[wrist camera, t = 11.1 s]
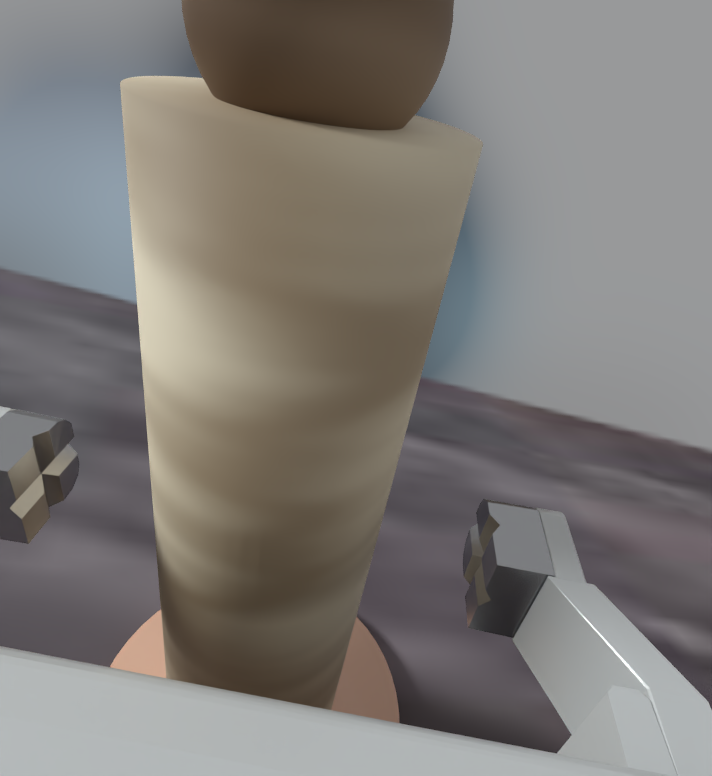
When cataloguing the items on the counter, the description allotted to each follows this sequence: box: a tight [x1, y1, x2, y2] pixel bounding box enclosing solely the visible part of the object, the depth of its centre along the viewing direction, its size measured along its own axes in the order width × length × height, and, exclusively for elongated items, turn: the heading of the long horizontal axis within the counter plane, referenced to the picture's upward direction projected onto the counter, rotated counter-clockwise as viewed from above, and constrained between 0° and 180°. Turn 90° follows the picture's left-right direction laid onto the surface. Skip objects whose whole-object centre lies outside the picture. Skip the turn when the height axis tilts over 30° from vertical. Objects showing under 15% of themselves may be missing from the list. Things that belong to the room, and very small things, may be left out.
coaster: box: [110, 610, 399, 723], centre depth 16 cm, size 9×9×1 cm
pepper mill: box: [120, 0, 483, 710], centre depth 11 cm, size 5×5×19 cm
